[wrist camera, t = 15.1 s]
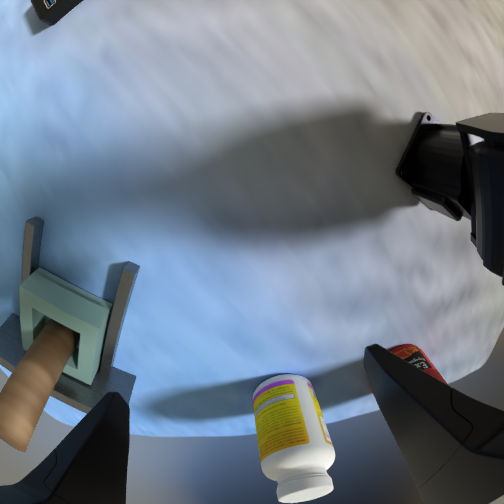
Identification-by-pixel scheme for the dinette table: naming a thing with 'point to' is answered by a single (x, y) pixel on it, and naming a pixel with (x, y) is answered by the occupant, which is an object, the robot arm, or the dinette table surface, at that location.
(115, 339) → the rail and backstop frame
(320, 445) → the supplement bottle
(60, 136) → the dinette table surface
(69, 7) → the multiport hub
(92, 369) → the sliding socket block
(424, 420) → the robot arm
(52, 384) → the walnut dowel
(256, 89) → the dinette table surface
